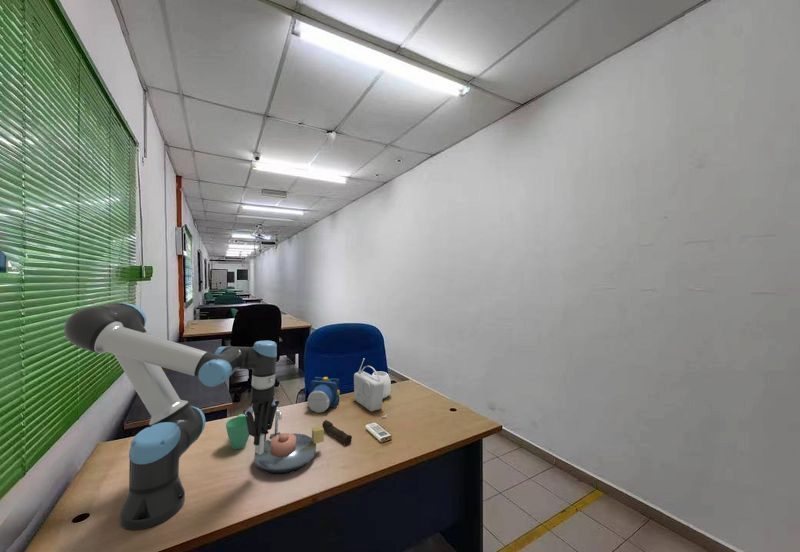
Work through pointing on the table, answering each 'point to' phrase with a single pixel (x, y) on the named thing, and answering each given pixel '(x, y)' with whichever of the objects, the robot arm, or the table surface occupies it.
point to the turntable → (296, 459)
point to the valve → (323, 394)
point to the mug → (237, 431)
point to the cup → (386, 381)
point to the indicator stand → (276, 422)
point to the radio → (368, 389)
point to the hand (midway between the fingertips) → (259, 452)
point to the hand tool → (336, 432)
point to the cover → (283, 445)
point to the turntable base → (284, 471)
